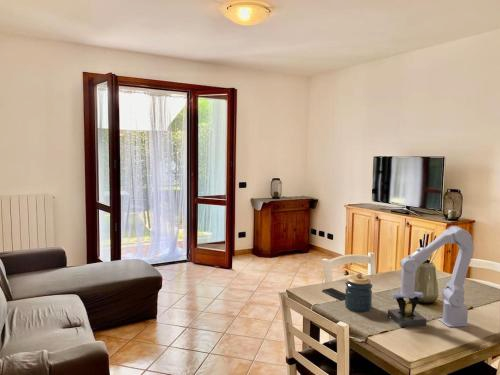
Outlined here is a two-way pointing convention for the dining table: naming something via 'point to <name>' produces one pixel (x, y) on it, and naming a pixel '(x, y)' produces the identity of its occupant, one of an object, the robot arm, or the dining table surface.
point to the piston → (407, 309)
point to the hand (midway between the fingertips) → (406, 312)
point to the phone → (334, 293)
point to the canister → (358, 293)
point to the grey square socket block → (407, 318)
